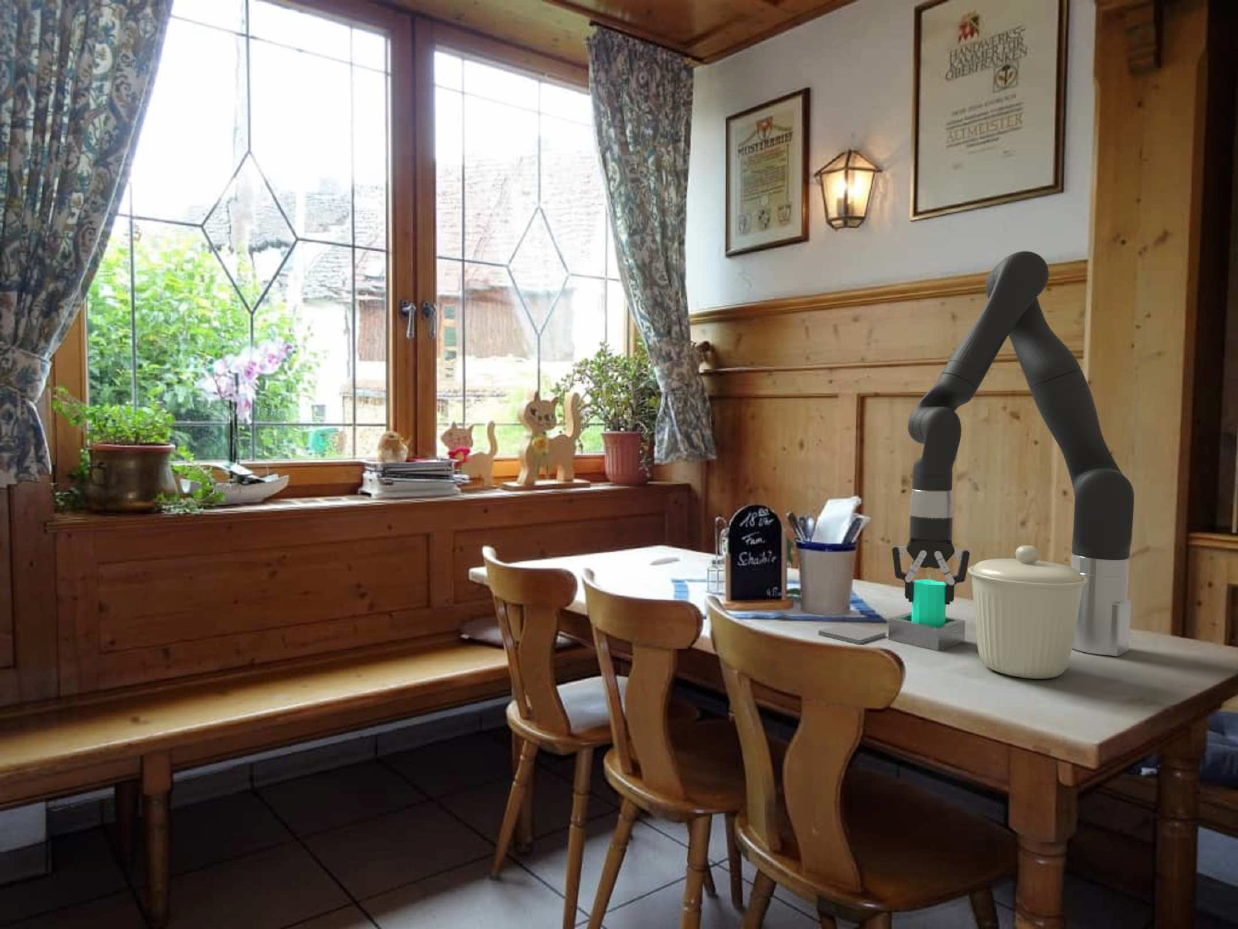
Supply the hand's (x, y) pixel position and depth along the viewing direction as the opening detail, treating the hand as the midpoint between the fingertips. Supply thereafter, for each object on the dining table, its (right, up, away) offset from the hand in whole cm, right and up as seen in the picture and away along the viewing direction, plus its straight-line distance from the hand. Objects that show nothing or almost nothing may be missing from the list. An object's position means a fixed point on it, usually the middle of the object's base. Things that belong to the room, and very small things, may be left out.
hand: (928, 602), depth 162 cm
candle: (0, -7, 0) cm, 7 cm away
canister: (+9, -9, -18) cm, 22 cm away
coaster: (-13, -7, +3) cm, 16 cm away
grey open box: (0, -7, +1) cm, 7 cm away
